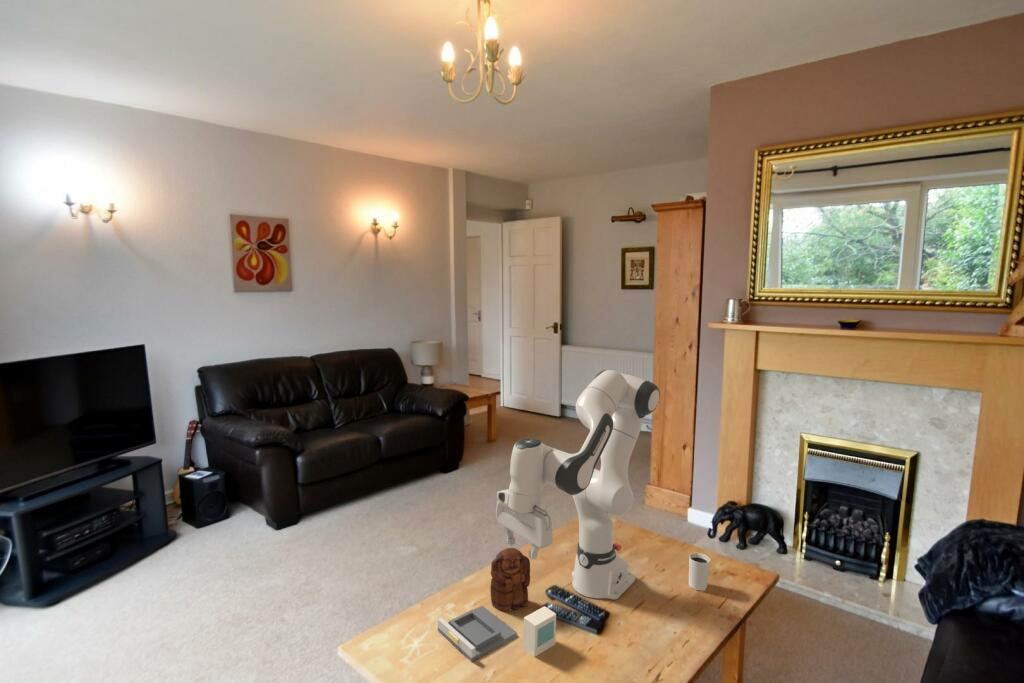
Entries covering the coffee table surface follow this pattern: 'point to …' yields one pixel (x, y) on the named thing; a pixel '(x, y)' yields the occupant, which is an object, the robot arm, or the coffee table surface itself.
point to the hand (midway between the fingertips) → (521, 550)
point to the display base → (476, 632)
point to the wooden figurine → (510, 580)
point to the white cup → (698, 570)
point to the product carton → (539, 631)
